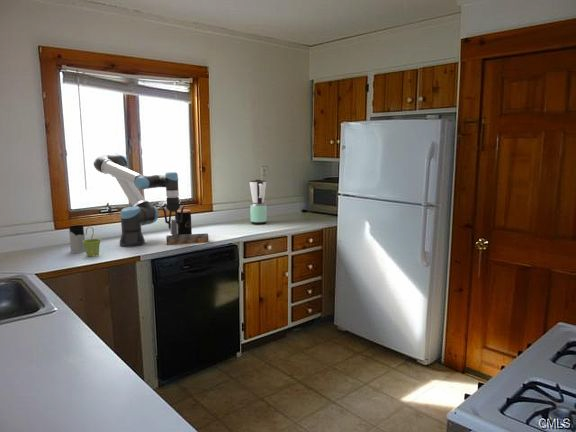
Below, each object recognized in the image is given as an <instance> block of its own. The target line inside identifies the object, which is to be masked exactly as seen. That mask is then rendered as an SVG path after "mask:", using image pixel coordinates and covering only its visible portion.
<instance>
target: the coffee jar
mask: <svg viewBox="0 0 576 432" xmlns="http://www.w3.org/2000/svg"><path fill="white" fill-rule="evenodd" d="M191 210H192V209H187V208H184V209H183V218H182V222H181V223H180V228H178V234H177V235H187V234H193V231H192V216H191V215H192V214H191ZM177 213H178V217H179V221H180V218H181V210H180V209H178V210H177ZM174 220H176V223H177V218H176V213H175V214H174Z"/></svg>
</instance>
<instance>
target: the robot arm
mask: <svg viewBox="0 0 576 432" xmlns="http://www.w3.org/2000/svg"><path fill="white" fill-rule="evenodd" d="M128 163H129V161H128V159H127V157H126V156H125V155H124V154H122V153H117V152H115V153H100V154H97V155H96V156H95V157H94V159H93V166H94V168H95V170H97V171H98V172H100V173H101V174H104V175H107V174H108V175H111V176H112V177H113V178H115V179H116V181H117V184H119V187H120V188H121V189H122V191H123V193H124V194H125V195H126V197H127V200H128V201H129V203H130V204H131V206H126V207H124V208H122V209H121V210H120V225H121V235H120V239H119V246H120V247H124V248H125V247H130V248H131V247H139V246H143V245H145V243H146V240H145V237H144V235H143V232H142V227H143V226H147V225H151V224H155V222H157V220H158V219H159V211H158V210H159V209H158V208H157V207H156V206H155V205H152V204H150V201H148V200H145V198H144V197H143V195H142V193H141V192H140V190H149V189H157V188H165V192H166V193H165V194H166V205H165V206H164V207H162V211H163V216H164V221H165V224H168V230H170V235H172V223H171V220H172V213H173V212H174V213H175V214H176V218H177V223H176V225H177V234H178V228H180V223H181V222H182V218H183V209H185V207H184V206H181V204H180V197H179V195H180V194H179V193H180V192H179V175H178V172H176V171H174V172H171V171H170V172H167V171H166V172H165V174H164V175H160V174H159V175H158V174H155V175H154V174H153V175H147V176H146V175H144V174H141V173H138V171H137V172H136V171H134V170H131V169H130V168H129V166H128V165H129V164H128ZM167 210H168V211H169V213H168V214H169V215H167ZM177 210H181V218H180V221H179V217H178V213H177ZM167 216H168V217H167Z"/></svg>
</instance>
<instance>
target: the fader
mask: <svg viewBox="0 0 576 432" xmlns="http://www.w3.org/2000/svg"><path fill="white" fill-rule="evenodd" d="M170 223H172V234H171V235H172V237H177V225H176V220H175V219H171V222H170Z"/></svg>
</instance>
